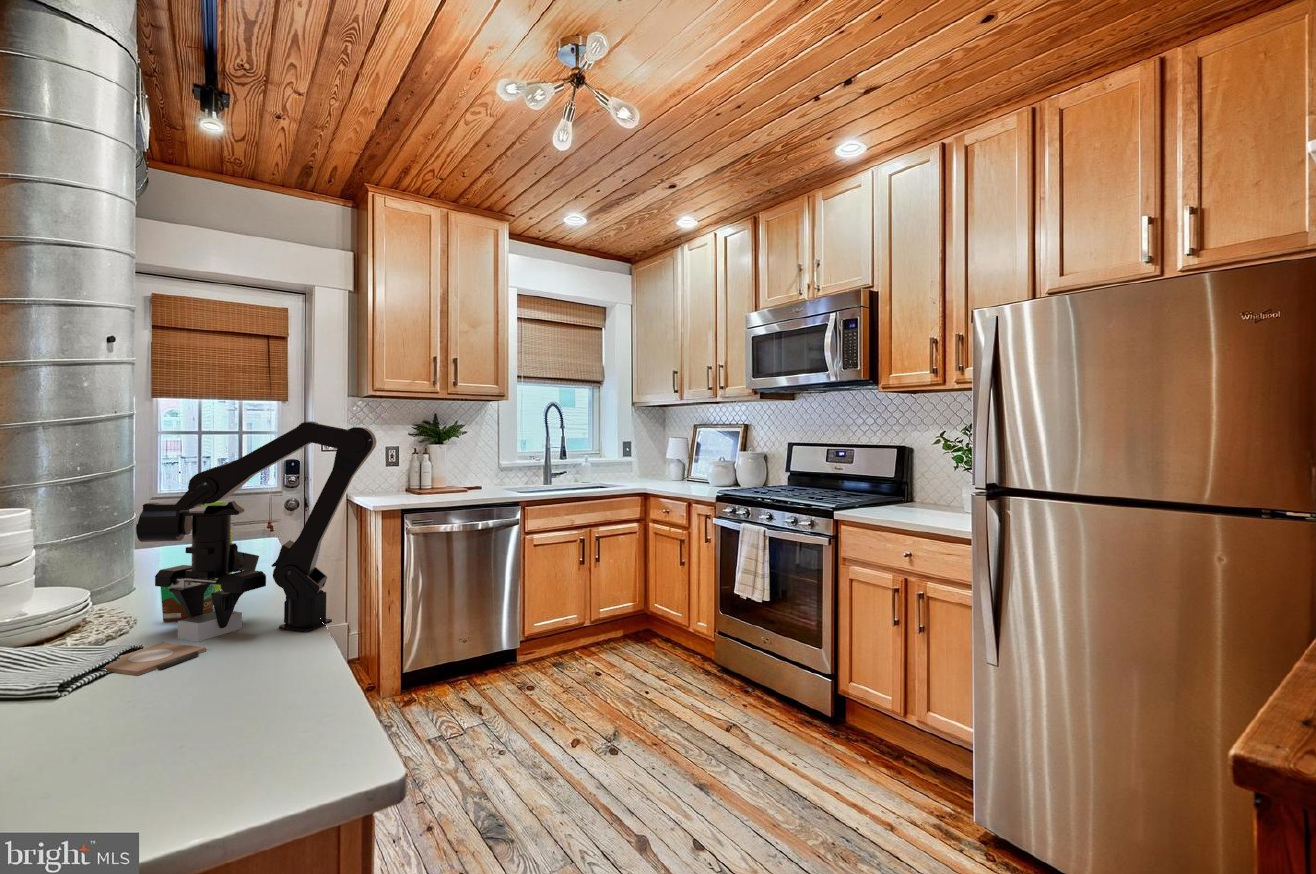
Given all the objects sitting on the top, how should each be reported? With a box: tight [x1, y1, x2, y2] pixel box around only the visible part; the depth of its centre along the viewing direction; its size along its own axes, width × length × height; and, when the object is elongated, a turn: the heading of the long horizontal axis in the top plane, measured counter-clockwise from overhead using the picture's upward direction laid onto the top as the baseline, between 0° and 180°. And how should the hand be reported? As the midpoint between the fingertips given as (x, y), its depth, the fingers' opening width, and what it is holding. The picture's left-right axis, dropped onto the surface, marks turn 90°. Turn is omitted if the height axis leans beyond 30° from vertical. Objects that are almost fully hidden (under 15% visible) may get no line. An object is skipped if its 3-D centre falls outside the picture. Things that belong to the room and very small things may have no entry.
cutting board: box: [104, 642, 207, 676], centre depth 100 cm, size 10×11×1 cm
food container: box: [160, 578, 216, 623], centre depth 124 cm, size 12×6×10 cm, turn 179°
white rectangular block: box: [177, 610, 243, 643], centre depth 114 cm, size 5×8×3 cm, turn 161°
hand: (210, 626), depth 114 cm, fingers closed on white rectangular block, 5 cm apart
